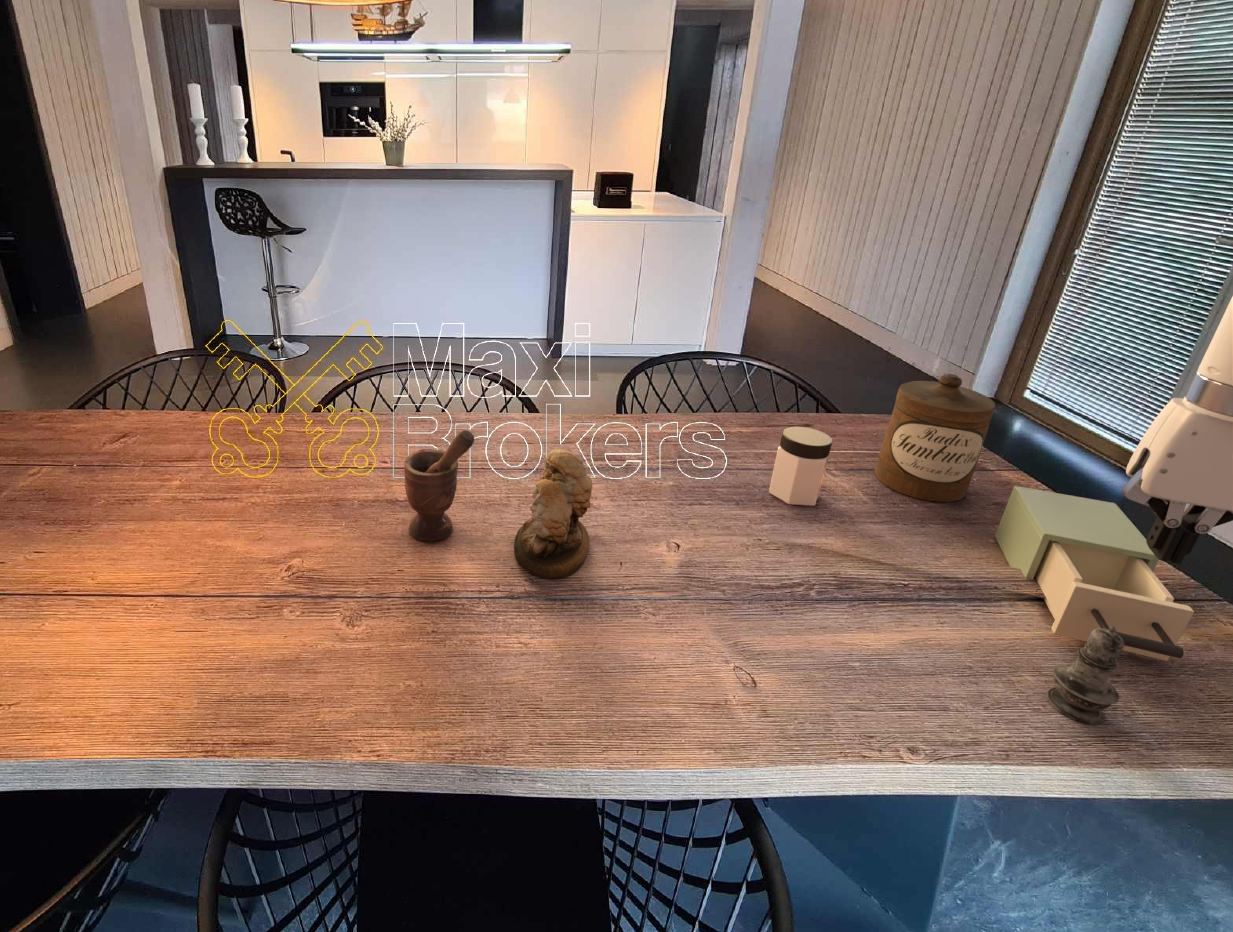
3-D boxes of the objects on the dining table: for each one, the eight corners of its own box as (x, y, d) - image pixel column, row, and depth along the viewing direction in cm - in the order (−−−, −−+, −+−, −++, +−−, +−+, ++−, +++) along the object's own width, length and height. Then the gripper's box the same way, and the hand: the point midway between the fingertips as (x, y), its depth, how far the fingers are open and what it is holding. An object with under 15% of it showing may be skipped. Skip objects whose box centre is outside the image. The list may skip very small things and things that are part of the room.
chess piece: (1100, 699, 80) (1141, 620, 75) (1113, 735, 75) (1157, 653, 70) (1038, 679, 82) (1073, 602, 78) (1047, 713, 78) (1085, 632, 73)
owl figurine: (523, 511, 117) (528, 423, 110) (591, 520, 114) (600, 430, 107) (506, 574, 100) (510, 475, 94) (584, 586, 98) (594, 485, 91)
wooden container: (880, 492, 123) (912, 382, 115) (869, 458, 136) (898, 356, 127) (975, 510, 118) (1016, 396, 110) (955, 472, 131) (991, 367, 122)
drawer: (1190, 694, 79) (1220, 642, 76) (1069, 663, 84) (1092, 613, 80) (1121, 596, 96) (1144, 550, 92) (1023, 575, 100) (1041, 530, 97)
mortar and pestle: (479, 521, 114) (481, 414, 106) (470, 550, 106) (472, 438, 98) (413, 513, 115) (410, 408, 108) (400, 542, 108) (396, 431, 100)
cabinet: (1131, 613, 94) (1161, 556, 90) (1021, 589, 98) (1044, 533, 94) (1091, 555, 106) (1115, 503, 102) (994, 536, 111) (1014, 485, 107)
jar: (810, 484, 126) (824, 427, 121) (827, 507, 119) (843, 447, 114) (761, 481, 127) (773, 424, 122) (775, 504, 119) (789, 444, 115)
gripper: (1324, 399, 65) (1236, 554, 72) (1128, 374, 71) (1064, 521, 78) (1381, 428, 59) (1278, 595, 66) (1160, 399, 64) (1088, 556, 71)
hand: (1163, 554), depth 72 cm, fingers closed
